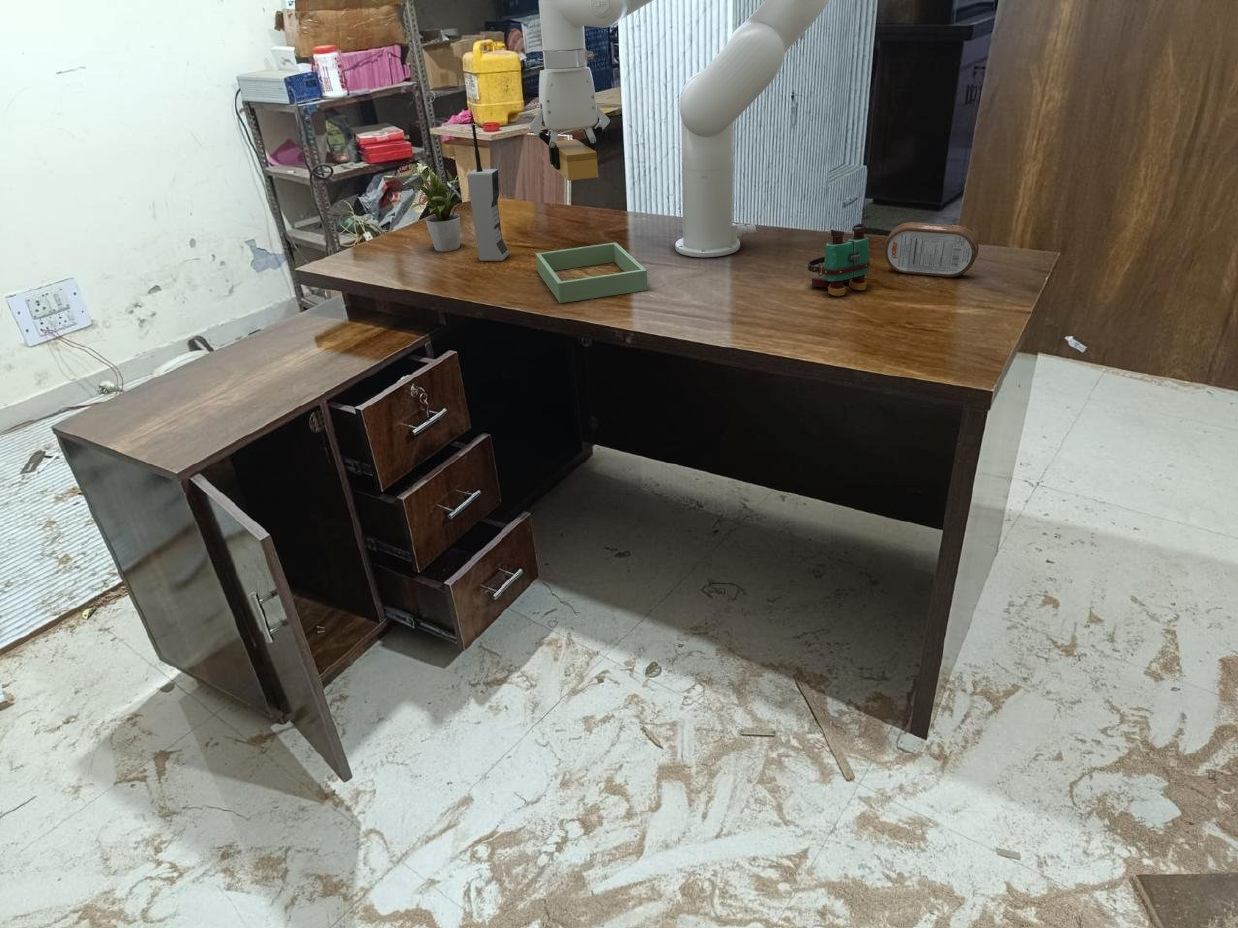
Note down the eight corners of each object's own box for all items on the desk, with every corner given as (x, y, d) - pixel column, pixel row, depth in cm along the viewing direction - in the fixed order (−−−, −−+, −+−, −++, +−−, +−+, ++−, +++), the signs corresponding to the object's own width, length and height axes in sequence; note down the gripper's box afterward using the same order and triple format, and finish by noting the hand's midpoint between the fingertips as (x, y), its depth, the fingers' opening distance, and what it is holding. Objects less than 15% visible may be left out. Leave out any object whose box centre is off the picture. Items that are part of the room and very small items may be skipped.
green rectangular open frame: (617, 260, 160) (616, 242, 158) (647, 290, 145) (646, 270, 143) (537, 272, 157) (535, 253, 155) (560, 303, 141) (558, 283, 139)
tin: (974, 275, 142) (982, 225, 138) (972, 281, 140) (981, 230, 135) (883, 267, 148) (888, 219, 144) (880, 273, 145) (885, 224, 141)
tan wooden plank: (577, 162, 165) (575, 139, 163) (598, 177, 153) (596, 152, 150) (549, 165, 164) (547, 142, 161) (568, 180, 151) (566, 155, 149)
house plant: (393, 251, 174) (377, 169, 166) (445, 234, 183) (433, 156, 174) (437, 261, 166) (422, 176, 157) (489, 244, 175) (478, 162, 166)
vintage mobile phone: (503, 261, 163) (485, 125, 151) (479, 261, 164) (459, 126, 152) (509, 255, 167) (492, 122, 154) (485, 255, 168) (466, 122, 155)
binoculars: (838, 217, 142) (880, 223, 134) (837, 279, 146) (878, 288, 138) (796, 226, 139) (836, 233, 130) (796, 289, 143) (835, 299, 135)
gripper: (605, 55, 154) (610, 158, 163) (513, 63, 150) (524, 168, 159) (617, 58, 147) (622, 165, 157) (521, 66, 143) (532, 175, 153)
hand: (572, 165), depth 158 cm, fingers closed on tan wooden plank, 5 cm apart
